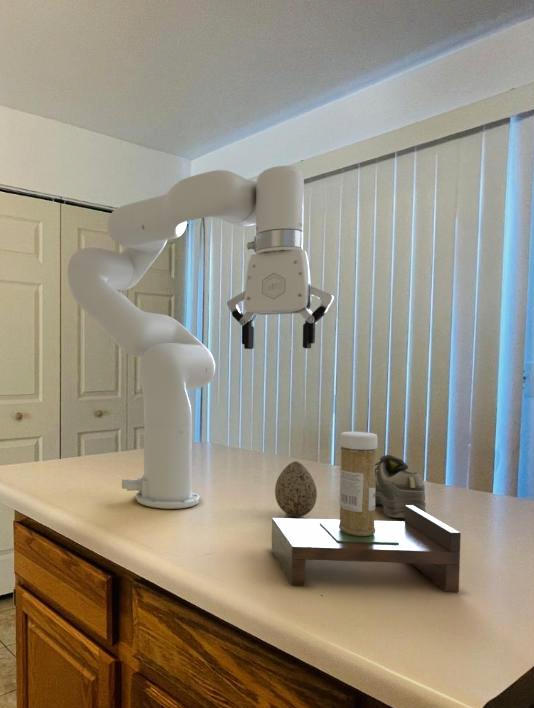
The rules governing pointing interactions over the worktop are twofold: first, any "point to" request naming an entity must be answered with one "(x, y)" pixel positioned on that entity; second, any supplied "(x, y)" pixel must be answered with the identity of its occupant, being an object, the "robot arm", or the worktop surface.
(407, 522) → the shelf
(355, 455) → the sprinkles bottle
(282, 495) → the decorative egg
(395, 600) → the worktop surface
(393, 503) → the hiking shoe
